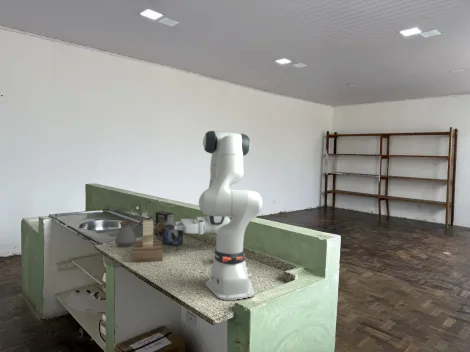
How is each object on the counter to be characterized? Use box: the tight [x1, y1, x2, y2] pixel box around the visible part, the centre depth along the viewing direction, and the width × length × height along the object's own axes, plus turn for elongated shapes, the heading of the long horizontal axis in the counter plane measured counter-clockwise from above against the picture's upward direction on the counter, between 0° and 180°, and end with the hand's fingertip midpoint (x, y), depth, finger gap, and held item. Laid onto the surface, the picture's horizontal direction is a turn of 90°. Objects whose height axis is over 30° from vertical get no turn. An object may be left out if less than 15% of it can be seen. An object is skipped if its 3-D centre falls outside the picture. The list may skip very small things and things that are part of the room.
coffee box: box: [155, 210, 175, 240], centre depth 200 cm, size 9×6×16 cm
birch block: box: [142, 219, 154, 247], centre depth 167 cm, size 5×5×13 cm
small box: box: [161, 225, 184, 247], centre depth 189 cm, size 11×6×10 cm, turn 73°
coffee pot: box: [114, 216, 154, 247], centre depth 186 cm, size 21×12×15 cm, turn 124°
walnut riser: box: [132, 239, 164, 263], centre depth 167 cm, size 20×14×5 cm
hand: (173, 225), depth 169 cm, fingers open, 8 cm apart
